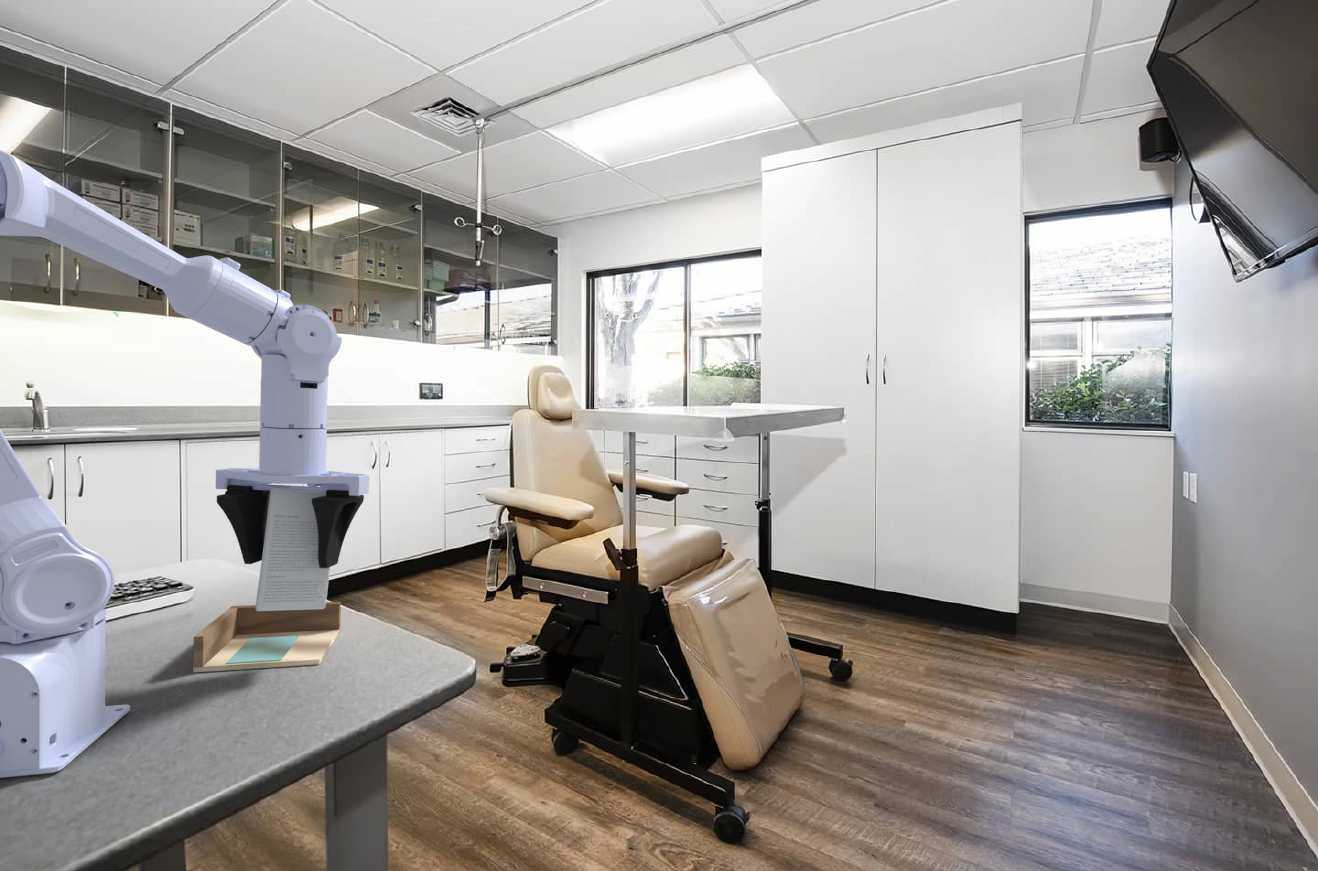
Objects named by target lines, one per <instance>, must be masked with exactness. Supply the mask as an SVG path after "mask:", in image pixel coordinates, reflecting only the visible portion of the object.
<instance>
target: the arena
mask: <svg viewBox="0 0 1318 871" xmlns="http://www.w3.org/2000/svg"><path fill="white" fill-rule="evenodd" d="M340 606H341V607H340ZM341 608H342V601H329V602H328V601H326V606H325V608H324V609H310V610H280V611H256V604H252V605H249V604H248V605H232V606H230V607H229V608H228V609H226V611H224V612H223V613H221V614H220V615H219V616H218V617H216V618H215V619H214V620H213V621H211V622H210V623H209V624H208V625H207V626H205V627H204V628H203V629H202V630H201V631H199V632H198V633H196V634H195V635H194V636H193V656H192V657H193V664H192V665H193V666H192V668H193V669H192V671H193V673H206V672H219V671H236V670H253V669H267V668H270V669H271V668H281V667H283V668H284V667H285V668H286V667H295V666H296V667H297V666H300V667H301V666H314V665H320V664H321V663H322V661H323V660H324V658H325V657H326V655H327V653H328V651H329V649H330V648H331V647H332V645H333V644H334V642H335V640H336V639H337V637H338V636H339V634H340V633H341V617H342V616H341V613H342V612H341V611H342V609H341Z"/></svg>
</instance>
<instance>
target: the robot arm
mask: <svg viewBox="0 0 1318 871" xmlns="http://www.w3.org/2000/svg"><path fill="white" fill-rule="evenodd" d="M0 236H4V237H5V236H6V237H8V236H9V237H35V238H36V237H39V238H43V239H47V240H49V241H51V242H53V243H56V244H58V245H60V246H62V247H64V248H67V249H69V250H71V251H73V252H76V253H79V254H81V255H83V256H85V257H88V258H89V259H92V260H94V261H97V262H98V263H101V264H103V265H105V266H108V267H110V268H112V269H115V270H117V271H120V272H121V273H123V274H126V275H128V276H131V277H132V278H135V279H137V280H139V281H141V282H143V283H144V282H145V283H147V284H149V285H151V286H152V287H153V286H154V287H155V288H158V289H160V290H162V291H163V292H164V294H165V296H166V298H167V300H168V301H169V305H170V306H171V308H172V310H174V311H173V312H175V313H177V314H179V315H181V316H184V317H186V318H187V319H190V320H192V321H195V322H196V323H198V324H200V325H203V326H205V327H207V328H209V329H211V330H214V331H215V332H218V333H220V334H221V335H224V336H226V337H229V338H230V339H233V340H235V341H237V342H238V343H239V342H240V343H241V344H244V345H245V346H248V347H251V348H252V350H253V352H254V353H255V354H256V355H257V357H258V358H260V359H261V364H260V365H261V366H260V367H261V369H260V371H261V373H260V374H261V375H260V377H261V378H260V404H259V405H260V408H259V409H260V413H259V414H260V415H259V417H260V418H259V420H260V421H259V425H260V427H259V456H258V457H259V460H258V461H259V462H258V465H259V466H258V468H240V467H238V468H237V467H228V468H221V469H219V468H218V469H216V470H215V489H216V490H225V491H224V494H217V496H216V503H217V505H218V506H219V507H220V509H221V510H222V512H223V513H224V514H225V516H226V518H227V519H228V521H229V523H230V525H231V527H232V530H233V531H234V534H235V537H236V539H237V542H238V545H239V549H240V552H241V553H240V554H241V556H242V560H243V563H244V565H252V564H255V563H258V562H262V554H263V547H264V539H265V531H266V523H267V514H268V506H269V498H270V491H271V487H272V486H284V487H290V488H292V489H294V490H292V491H293V492H314V493H326V496H321V497H317V498H312V505H313V508H314V512H315V516H316V521H317V528H318V562H319V568H329V567H330V568H331V567H333V566H335V565H337V564H338V562H339V558H340V554H341V550H342V547H343V544H344V540H345V538H346V535H347V532H348V530H349V528H350V525H351V523H352V522H353V520H354V517H355V516H356V514H357V513H358V511H359V509H360V507H361V506H362V505H363V503H364V499H365V495H368V494H369V493H370V474H369V473H368V474H366V473H365V474H363V473H355V472H354V473H352V472H343V471H342V472H341V471H333V470H327V436H328V434H327V431H328V430H327V429H328V428H327V426H328V387H329V386H328V385H329V384H328V382H329V381H328V380H329V378H328V377H329V370H330V369H329V367H330V363H331V361H332V360H333V359H334V358H335V357H336V356H337V355H338V352H339V351H340V350H341V345H342V340H343V338H342V336H340V335H337V333H338V332H337V328H336V327H335V326H336V325H335V324H334V322H333V321H332V320H331V319H330V316H329V315H328V314H327V313H326V312H325V311H323V310H322V309H320V308H319V307H316V306H314V305H310V304H297V305H294V304H293V302H292V300H291V294H290V293H289V292H287V291H285V290H284V289H277V290H274V289H272V288H270V287H269V286H267V285H265V284H263V283H261V282H260V281H257V280H256V279H254V278H252V277H250V276H249V275H247V274H245V273H243V272H241V271H240V268H241V264H240V263H239V262H237V261H235V260H233V259H231V258H230V257H223V258H220V259H218V258H215V257H214V256H212V255H200V256H194V257H189V258H188V257H185V256H183V255H181V254H179V253H177V252H176V251H174V250H172V249H171V248H169V247H167V246H166V245H164V244H162V243H161V242H159V241H157V240H156V239H153V238H152V237H150V236H148V235H146V234H145V233H143V232H141V231H139V229H137V228H134V227H133V226H131V225H129V224H127V223H126V222H124V221H123V220H122V219H119V218H117V217H116V216H114V215H112V214H111V213H109V212H106V211H105V210H104V209H102V208H100V207H99V206H97V205H95V204H93V203H91V202H89V201H88V200H87V199H84V198H83V197H81V196H79V195H78V194H76V193H74V192H73V191H71V190H70V189H67V188H65V187H64V186H62V185H61V184H59V183H58V182H56V181H54V180H52V179H50V178H48V177H47V176H46V175H44V174H42V173H41V172H39V171H38V170H36V169H34V168H33V167H32V166H30V165H29V164H27V163H26V162H24V161H23V160H21V159H19V158H18V157H16V156H15V155H13V154H11V153H9V152H6V151H5V150H2V149H0ZM303 484H304V485H305V486H304V485H303ZM306 485H307V486H306ZM115 581H116V580H115V573H114V569H113V567H112V566H111V564H110V562H108V560H107V559H106V558H105V557H104V556H102V555H101V554H100V553H98V552H96V551H94V550H92V549H90V548H88V547H86V546H84V545H82V544H81V543H80V542H79V541H78V540H77V539H76V538H75V537H74V535H73V534H72V533H71V530H69V528H68V526H67V525H66V523H65V522H64V521H63V519H62V518H61V517H60V516H59V515H58V514H57V512H56V511H55V510H54V509H53V508H52V507H51V506H50V504H48V502H47V501H46V500H45V499H44V497H43V496H42V495H41V493H40V491H39V489H38V488H37V486H36V485H35V482H33V480H32V478H31V477H30V475H29V474H28V472H27V470H26V469H25V467H24V465H23V463H22V461H21V460H20V458H19V457H18V456H17V453H16V452H15V450H14V449H13V447H12V446H11V444H10V442H9V441H8V439H7V438H6V436H5V434H4V433H3V431H2V430H1V428H0V779H1V778H3V779H4V778H12V777H22V776H33V775H42V774H43V775H44V774H45V775H46V774H53V773H56V772H59V771H61V770H62V769H64V768H65V767H66V766H68V764H69V763H71V762H72V761H73V760H74V759H75V758H76V757H77V756H79V755H80V754H82V753H83V751H84V750H86V749H87V748H88V747H89V746H90V745H92V744H93V743H94V742H95V741H96V740H97V739H99V738H100V737H101V736H102V735H103V734H104V733H106V732H107V731H108V730H109V729H110V728H112V726H114V724H116V723H117V722H118V721H120V719H122V718H123V717H124V716H125V715H126V714H127V713H129V712H130V710H131V705H130V704H115V705H114V704H113V705H106V632H107V631H106V630H107V629H106V626H107V624H106V621H107V620H106V615H107V614H106V612H107V611H106V609H105V606H106V605H107V604H108V602H109V601H110V599H111V597H112V595H113V593H114V590H115Z"/></svg>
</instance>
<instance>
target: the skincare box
mask: <svg viewBox="0 0 1318 871" xmlns="http://www.w3.org/2000/svg"><path fill="white" fill-rule="evenodd" d="M292 490H294V489H292V488H290V487H284V486H272V487H271V491H270V498H269V506H268V514H267V523H266V531H265V539H264V547H263V554H262V560H261V561H260V562H261V563H260V569H259V577H258V578H259V579H258V585H257V590H256V591H257V592H256V601H255V605H256V611H280V610H310V609H324V608H325V606H326V602H327V597H328V588H329V582H330V581H329V579H330V571H331V567H329V568H319V562H318V528H317V521H316V516H315V512H314V508H313V505H312V498H317V497H321V496H326V493H314V492H293V491H292Z"/></svg>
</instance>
